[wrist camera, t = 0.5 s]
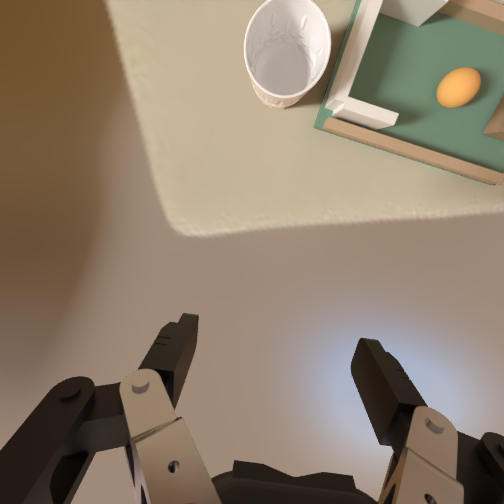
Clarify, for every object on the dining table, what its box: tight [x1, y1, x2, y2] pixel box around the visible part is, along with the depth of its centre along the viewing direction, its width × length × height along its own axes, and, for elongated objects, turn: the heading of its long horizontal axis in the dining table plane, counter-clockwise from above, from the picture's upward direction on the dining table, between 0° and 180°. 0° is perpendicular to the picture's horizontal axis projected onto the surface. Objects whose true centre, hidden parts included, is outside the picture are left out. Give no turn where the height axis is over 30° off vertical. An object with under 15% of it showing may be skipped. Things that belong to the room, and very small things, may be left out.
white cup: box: [244, 0, 331, 109], centre depth 28 cm, size 8×8×10 cm
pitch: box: [313, 0, 504, 185], centre depth 30 cm, size 16×26×6 cm, turn 74°
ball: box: [436, 67, 481, 108], centre depth 30 cm, size 4×4×4 cm
